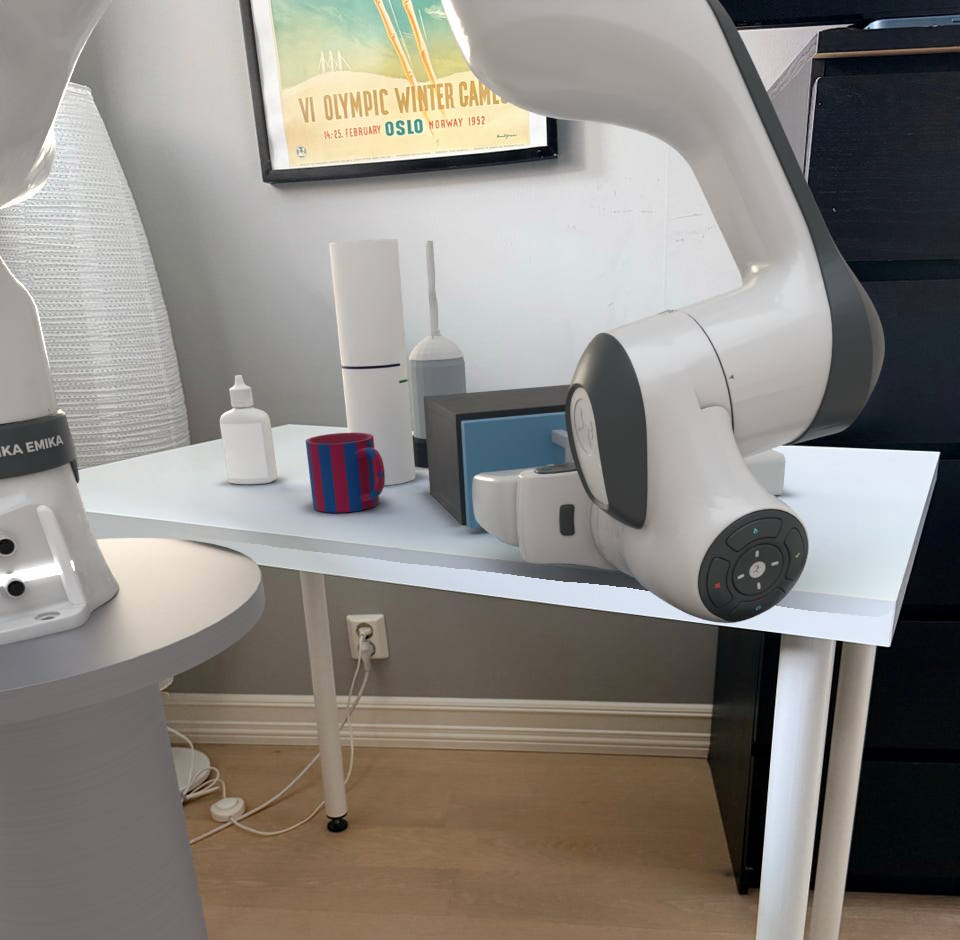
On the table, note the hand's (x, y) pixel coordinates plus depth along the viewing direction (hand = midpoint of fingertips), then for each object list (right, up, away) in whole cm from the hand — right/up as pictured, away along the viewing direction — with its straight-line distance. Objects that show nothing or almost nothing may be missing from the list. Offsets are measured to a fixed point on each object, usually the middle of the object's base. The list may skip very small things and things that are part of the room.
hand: (571, 471), depth 78 cm
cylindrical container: (-19, +4, +28) cm, 34 cm away
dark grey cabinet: (-3, 0, +15) cm, 16 cm away
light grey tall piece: (-12, +8, +36) cm, 39 cm away
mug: (-20, -1, +15) cm, 26 cm away
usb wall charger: (+18, 0, +13) cm, 22 cm away
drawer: (-2, -2, +9) cm, 9 cm away
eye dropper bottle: (-34, +4, +30) cm, 46 cm away
